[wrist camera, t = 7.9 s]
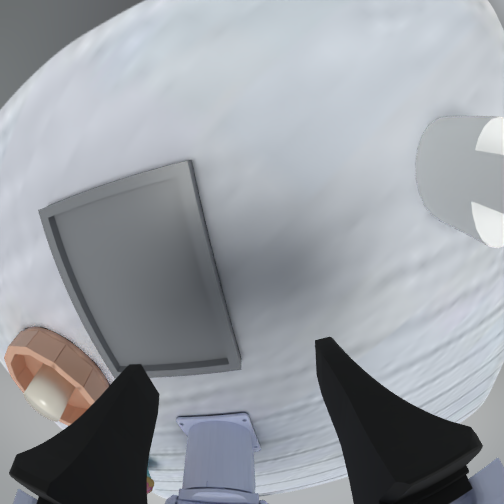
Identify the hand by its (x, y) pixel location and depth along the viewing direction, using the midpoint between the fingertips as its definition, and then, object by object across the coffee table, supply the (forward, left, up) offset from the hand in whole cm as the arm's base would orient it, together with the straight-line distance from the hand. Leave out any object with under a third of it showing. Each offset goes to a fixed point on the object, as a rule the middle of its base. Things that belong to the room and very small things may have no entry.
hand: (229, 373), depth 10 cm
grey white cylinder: (+5, -19, -10) cm, 22 cm away
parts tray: (0, +7, -9) cm, 12 cm away
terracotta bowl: (-9, +22, -9) cm, 26 cm away
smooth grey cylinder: (-9, +22, -9) cm, 25 cm away
